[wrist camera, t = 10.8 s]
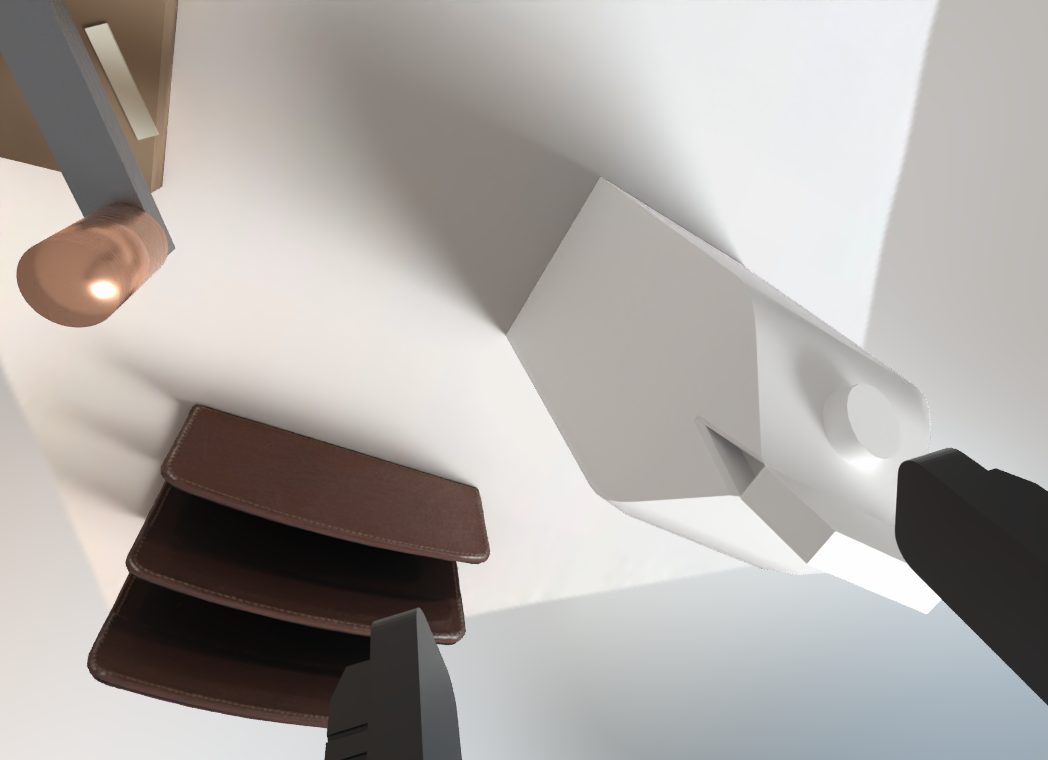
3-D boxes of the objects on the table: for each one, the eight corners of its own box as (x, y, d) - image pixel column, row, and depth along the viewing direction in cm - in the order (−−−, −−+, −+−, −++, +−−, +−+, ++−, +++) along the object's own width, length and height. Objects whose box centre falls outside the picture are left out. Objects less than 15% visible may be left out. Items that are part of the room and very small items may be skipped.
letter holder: (427, 586, 52) (439, 756, 40) (154, 521, 45) (65, 701, 33) (480, 486, 49) (512, 636, 36) (195, 399, 42) (114, 547, 30)
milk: (505, 335, 44) (634, 654, 21) (600, 176, 40) (881, 347, 17) (648, 404, 48) (885, 731, 25) (745, 266, 44) (1123, 499, 22)
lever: (-118, -176, 23) (-322, -265, 16) (1, -197, 23) (-153, -294, 17) (111, 276, 31) (35, 339, 24) (198, 256, 31) (146, 312, 24)
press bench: (-16, -189, 29) (-127, -254, 22) (191, -113, 31) (142, -153, 25) (-11, 143, 34) (-101, 165, 28) (165, 187, 36) (120, 216, 30)
